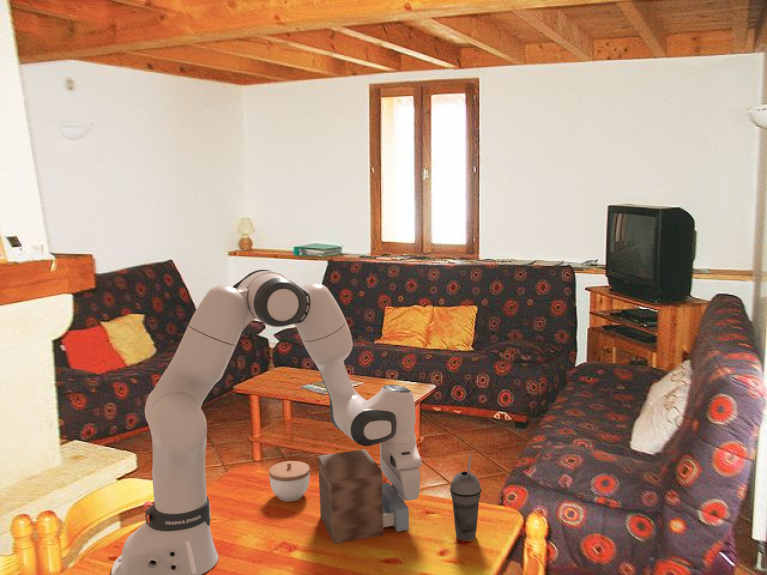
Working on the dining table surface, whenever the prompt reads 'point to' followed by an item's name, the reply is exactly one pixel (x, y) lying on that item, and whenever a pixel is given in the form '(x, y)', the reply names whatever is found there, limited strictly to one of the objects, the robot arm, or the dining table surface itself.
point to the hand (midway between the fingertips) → (398, 501)
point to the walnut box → (350, 495)
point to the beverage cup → (465, 503)
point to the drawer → (394, 509)
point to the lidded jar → (289, 480)
